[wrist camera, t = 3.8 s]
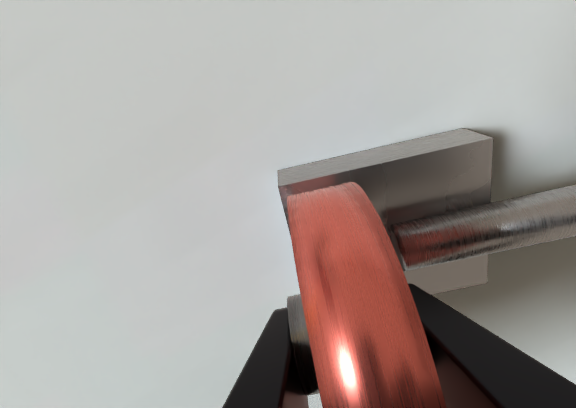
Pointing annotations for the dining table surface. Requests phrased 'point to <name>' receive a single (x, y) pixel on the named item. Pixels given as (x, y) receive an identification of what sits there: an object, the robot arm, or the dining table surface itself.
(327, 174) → the red disc wheel
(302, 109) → the dining table surface
